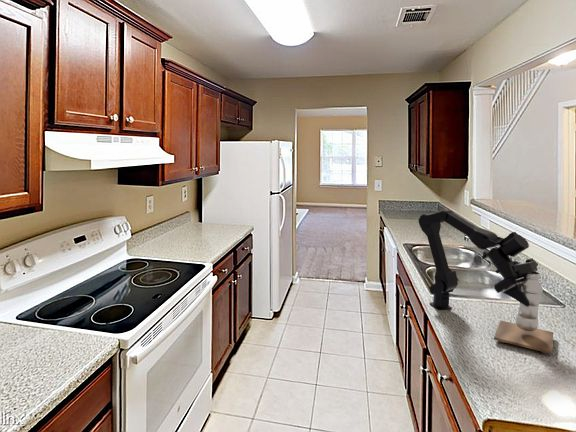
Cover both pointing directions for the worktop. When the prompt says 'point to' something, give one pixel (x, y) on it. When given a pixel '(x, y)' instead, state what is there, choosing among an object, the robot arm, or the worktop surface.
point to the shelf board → (525, 337)
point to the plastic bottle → (529, 314)
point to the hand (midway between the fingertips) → (533, 303)
